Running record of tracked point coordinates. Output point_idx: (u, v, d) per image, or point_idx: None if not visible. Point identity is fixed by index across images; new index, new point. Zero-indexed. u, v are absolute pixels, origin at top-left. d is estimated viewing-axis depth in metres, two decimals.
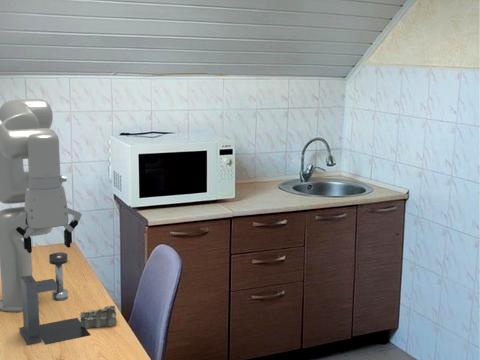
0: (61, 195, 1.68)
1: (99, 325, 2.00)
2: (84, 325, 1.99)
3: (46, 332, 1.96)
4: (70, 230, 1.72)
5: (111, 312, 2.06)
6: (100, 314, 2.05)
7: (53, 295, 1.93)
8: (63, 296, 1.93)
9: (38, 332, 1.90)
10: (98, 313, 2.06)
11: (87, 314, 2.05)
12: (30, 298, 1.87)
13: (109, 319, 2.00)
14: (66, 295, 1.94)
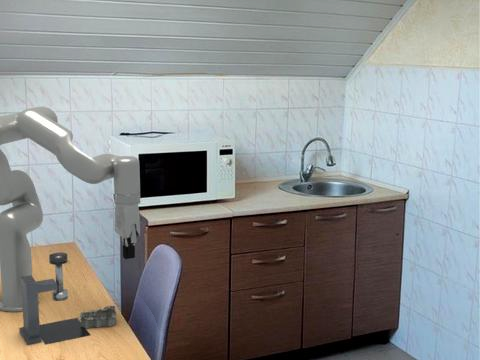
0: None
1: (99, 325, 2.00)
2: (84, 325, 1.99)
3: (46, 332, 1.96)
4: None
5: (111, 312, 2.06)
6: (100, 314, 2.05)
7: (53, 295, 1.93)
8: (63, 296, 1.93)
9: (38, 332, 1.90)
10: (98, 313, 2.06)
11: (87, 314, 2.05)
12: (30, 298, 1.87)
13: (109, 319, 2.00)
14: (66, 295, 1.94)
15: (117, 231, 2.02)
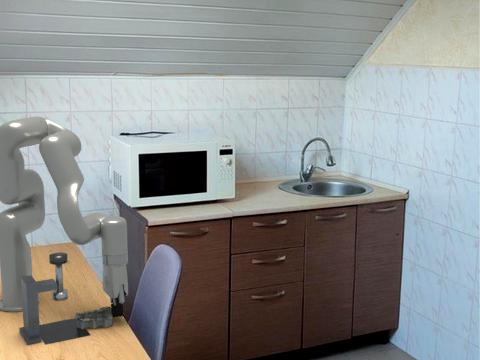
0: None
1: (95, 326, 1.99)
2: (80, 326, 1.98)
3: (46, 332, 1.96)
4: None
5: (107, 313, 2.05)
6: (96, 315, 2.04)
7: (53, 295, 1.93)
8: (63, 296, 1.93)
9: (38, 332, 1.90)
10: (94, 314, 2.05)
11: (83, 315, 2.04)
12: (30, 298, 1.87)
13: (105, 320, 1.99)
14: (66, 295, 1.94)
15: (105, 290, 2.03)
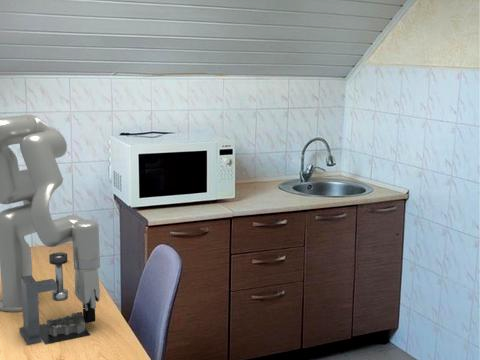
0: None
1: (68, 332, 1.94)
2: (52, 333, 1.93)
3: (46, 332, 1.96)
4: None
5: (79, 318, 2.01)
6: (67, 321, 2.00)
7: (53, 295, 1.93)
8: (63, 296, 1.93)
9: (38, 332, 1.90)
10: (65, 320, 2.00)
11: (54, 322, 1.99)
12: (30, 298, 1.87)
13: (78, 326, 1.95)
14: (66, 295, 1.94)
15: (77, 295, 1.99)
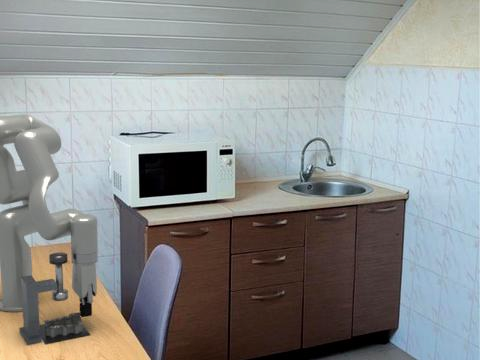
0: None
1: (65, 333, 1.94)
2: (50, 334, 1.93)
3: None
4: None
5: (76, 319, 2.01)
6: (64, 321, 2.00)
7: (53, 295, 1.93)
8: (63, 296, 1.93)
9: (38, 332, 1.90)
10: (63, 320, 2.00)
11: (51, 322, 1.99)
12: (30, 298, 1.87)
13: (76, 326, 1.95)
14: (66, 295, 1.94)
15: (74, 289, 1.99)
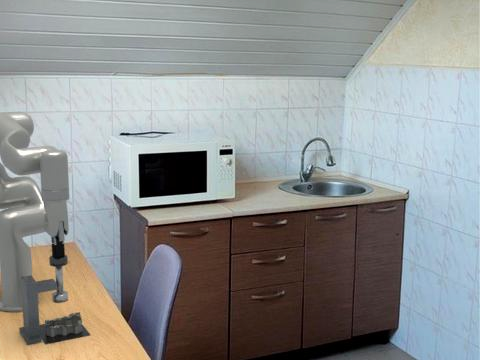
0: None
1: (65, 333, 1.94)
2: (50, 334, 1.93)
3: None
4: None
5: (76, 319, 2.01)
6: (65, 321, 2.00)
7: (53, 297, 1.94)
8: (63, 298, 1.94)
9: (38, 332, 1.90)
10: (63, 320, 2.00)
11: (51, 322, 1.99)
12: (30, 298, 1.87)
13: (76, 326, 1.95)
14: (66, 297, 1.94)
15: (45, 229, 1.91)
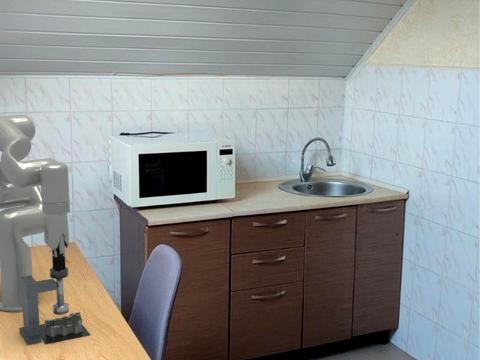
0: None
1: (65, 333, 1.94)
2: (50, 334, 1.93)
3: None
4: None
5: (76, 319, 2.01)
6: (65, 321, 2.00)
7: (54, 309, 1.94)
8: (64, 309, 1.94)
9: (38, 332, 1.90)
10: (63, 320, 2.00)
11: (51, 322, 1.99)
12: (30, 298, 1.87)
13: (76, 326, 1.95)
14: (67, 309, 1.95)
15: (46, 241, 1.92)
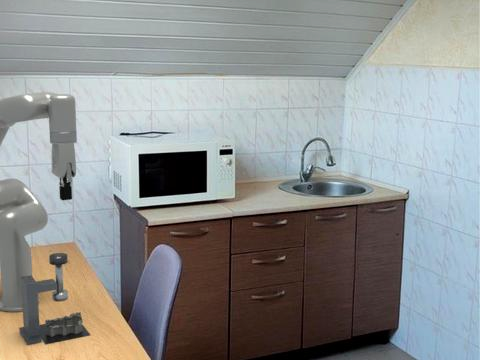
0: None
1: (65, 333, 1.94)
2: (49, 333, 1.93)
3: None
4: None
5: (77, 319, 2.01)
6: (65, 321, 2.00)
7: (53, 296, 1.94)
8: (63, 296, 1.93)
9: (38, 332, 1.90)
10: (64, 320, 2.00)
11: (52, 322, 1.99)
12: (30, 298, 1.87)
13: (75, 326, 1.95)
14: (66, 295, 1.94)
15: (53, 172, 1.97)
